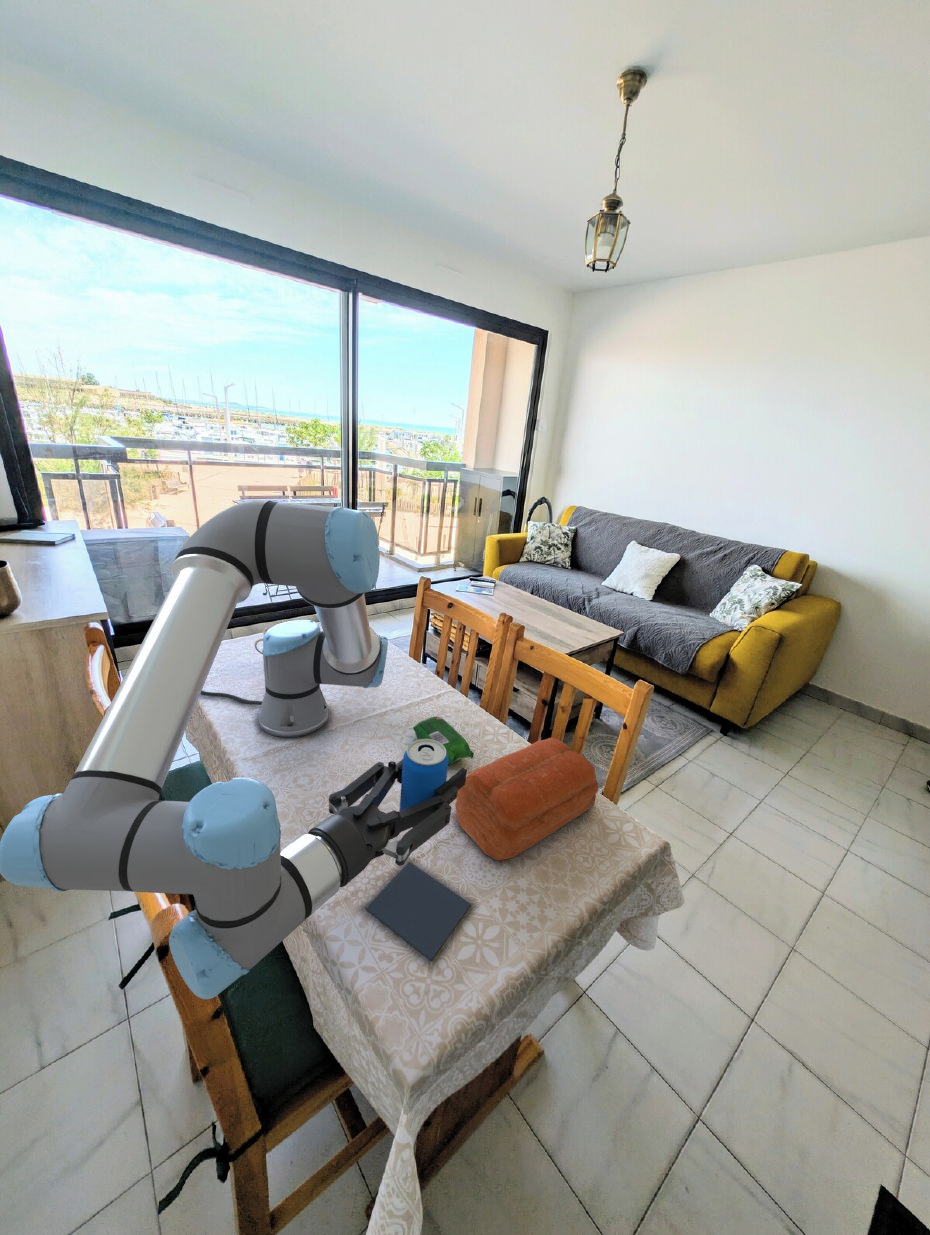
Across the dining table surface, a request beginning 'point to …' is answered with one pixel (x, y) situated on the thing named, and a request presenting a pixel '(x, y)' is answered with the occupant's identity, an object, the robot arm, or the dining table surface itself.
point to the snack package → (444, 737)
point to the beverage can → (422, 771)
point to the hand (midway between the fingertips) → (445, 765)
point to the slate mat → (419, 909)
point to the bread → (525, 797)
